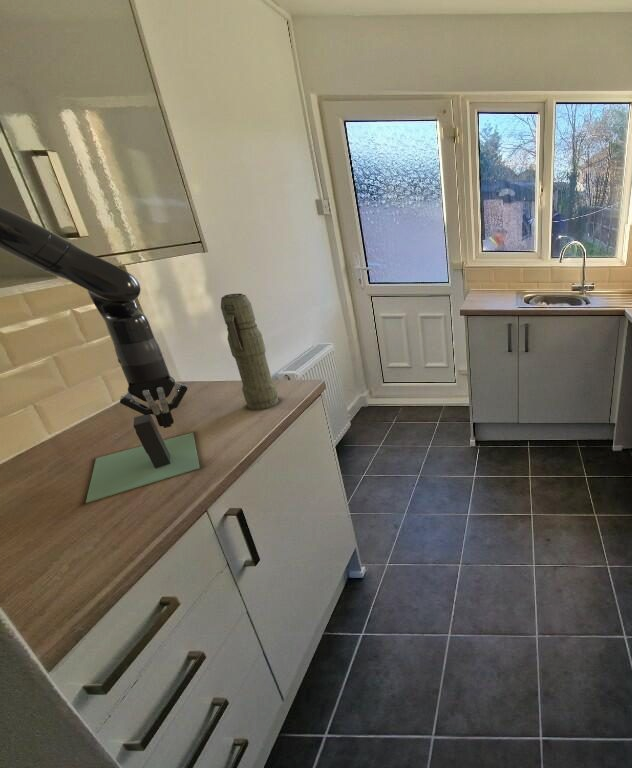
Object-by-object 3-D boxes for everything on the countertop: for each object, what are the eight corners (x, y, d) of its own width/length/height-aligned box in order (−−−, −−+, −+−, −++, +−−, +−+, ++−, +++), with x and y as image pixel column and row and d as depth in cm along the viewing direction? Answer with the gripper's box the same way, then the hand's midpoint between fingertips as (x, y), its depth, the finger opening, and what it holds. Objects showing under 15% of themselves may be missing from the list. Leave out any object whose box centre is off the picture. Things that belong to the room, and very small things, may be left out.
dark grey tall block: (153, 469, 99) (131, 426, 94) (153, 459, 103) (132, 417, 98) (170, 463, 101) (149, 421, 96) (169, 454, 105) (150, 413, 99)
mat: (86, 504, 88) (85, 502, 88) (96, 460, 104) (95, 458, 104) (200, 469, 100) (199, 467, 99) (193, 434, 115) (193, 432, 115)
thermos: (242, 414, 126) (206, 300, 112) (254, 398, 136) (223, 292, 123) (273, 411, 128) (243, 298, 114) (283, 395, 138) (256, 290, 124)
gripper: (177, 348, 100) (199, 412, 107) (103, 361, 92) (132, 429, 99) (178, 356, 94) (201, 423, 101) (100, 370, 87) (131, 441, 94)
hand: (167, 426), depth 100 cm, fingers closed
